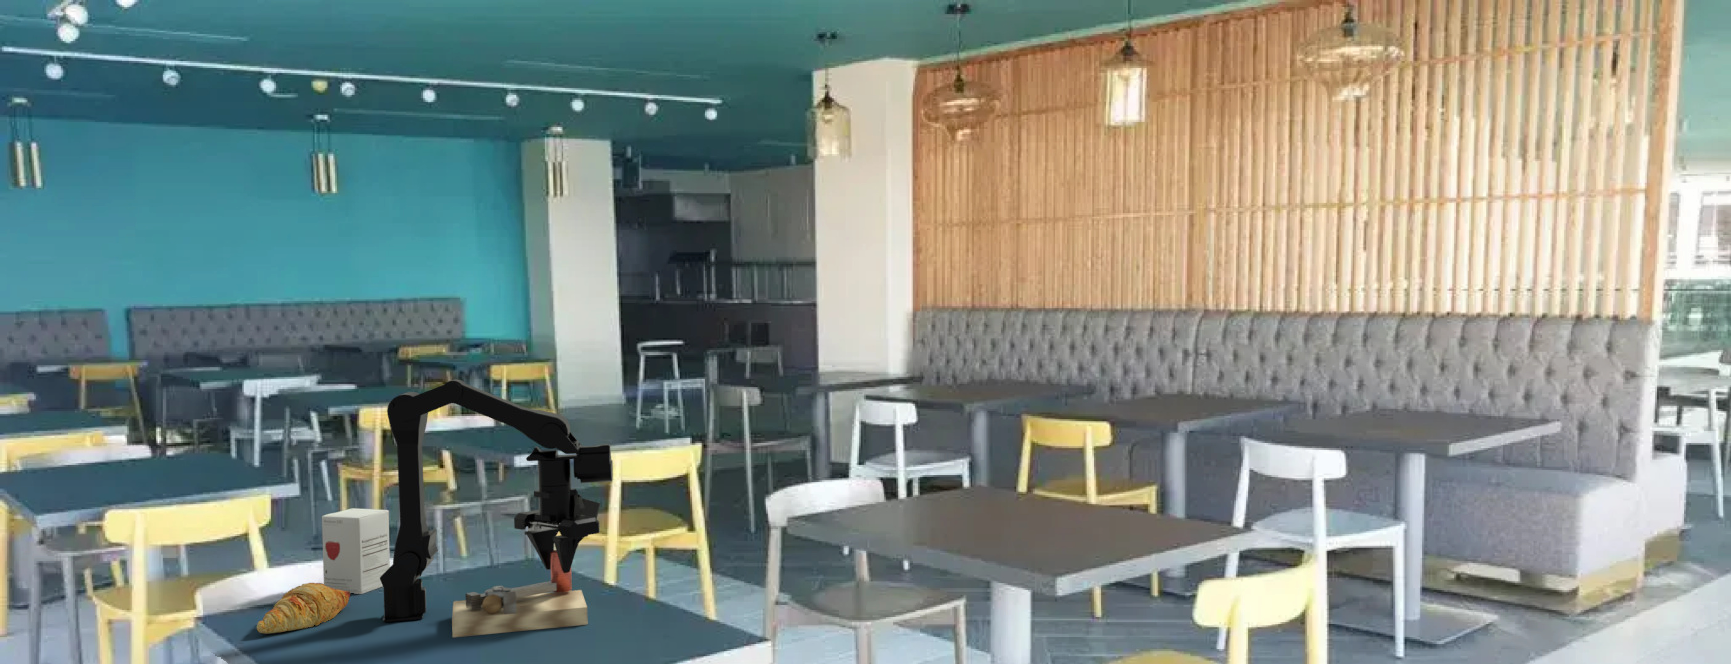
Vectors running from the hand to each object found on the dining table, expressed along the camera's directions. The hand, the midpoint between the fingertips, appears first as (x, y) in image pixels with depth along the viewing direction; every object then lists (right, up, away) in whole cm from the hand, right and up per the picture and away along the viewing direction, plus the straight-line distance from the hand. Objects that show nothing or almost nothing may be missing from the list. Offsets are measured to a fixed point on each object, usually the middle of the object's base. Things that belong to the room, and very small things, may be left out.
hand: (557, 570), depth 220 cm
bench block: (-5, -7, -7) cm, 11 cm away
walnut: (-8, -5, -14) cm, 16 cm away
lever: (-5, -4, -5) cm, 8 cm away
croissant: (-43, -8, -5) cm, 45 cm away
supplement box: (-44, -7, +19) cm, 49 cm away
